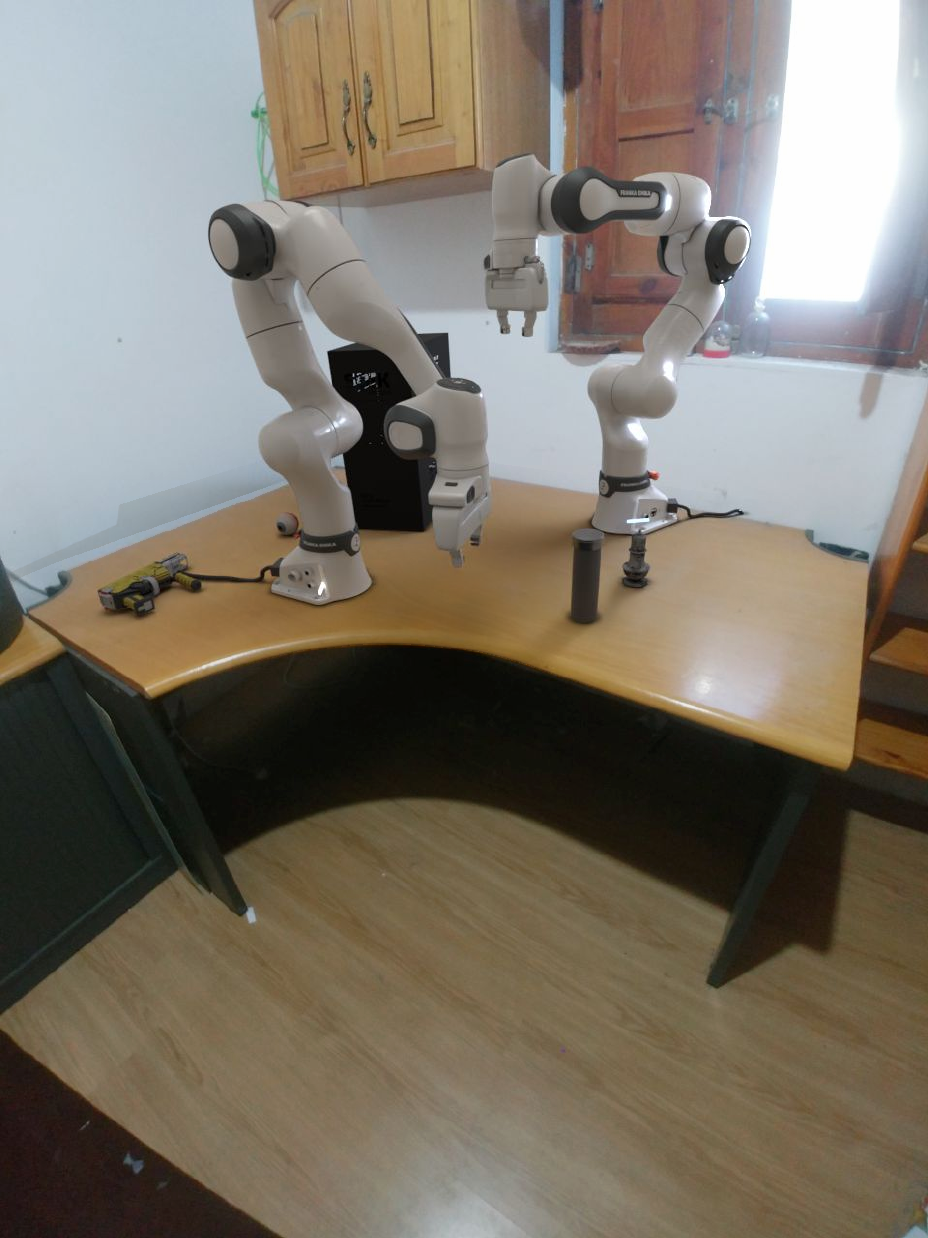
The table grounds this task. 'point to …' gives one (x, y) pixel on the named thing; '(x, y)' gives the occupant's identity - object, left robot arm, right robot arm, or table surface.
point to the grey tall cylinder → (585, 585)
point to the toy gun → (146, 585)
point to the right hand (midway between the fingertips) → (516, 335)
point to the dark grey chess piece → (636, 562)
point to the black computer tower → (373, 471)
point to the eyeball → (287, 523)
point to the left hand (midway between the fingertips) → (467, 554)
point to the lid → (588, 539)
